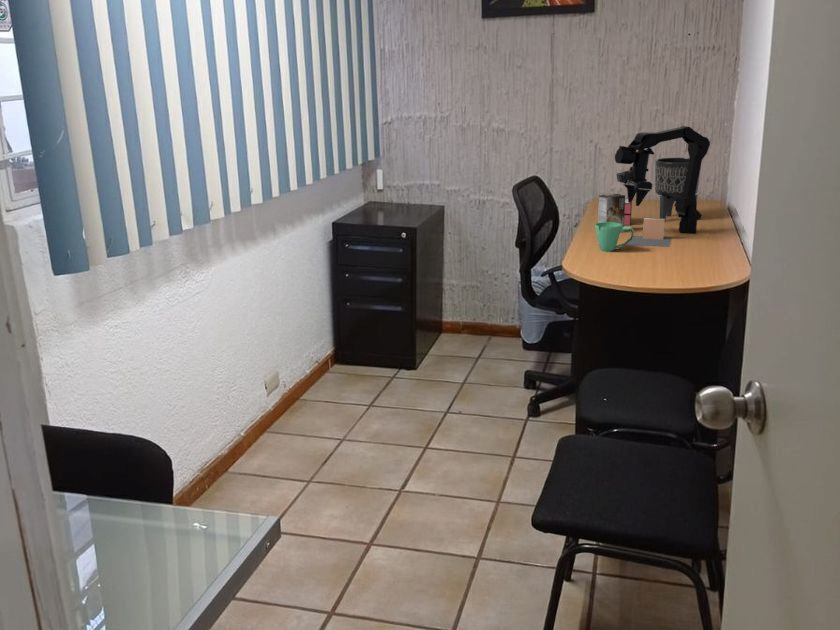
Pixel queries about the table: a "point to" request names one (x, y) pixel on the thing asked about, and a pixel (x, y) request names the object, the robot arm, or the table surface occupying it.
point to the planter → (670, 182)
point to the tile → (653, 228)
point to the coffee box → (611, 208)
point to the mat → (650, 242)
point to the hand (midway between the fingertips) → (633, 204)
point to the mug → (610, 235)
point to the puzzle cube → (627, 212)
